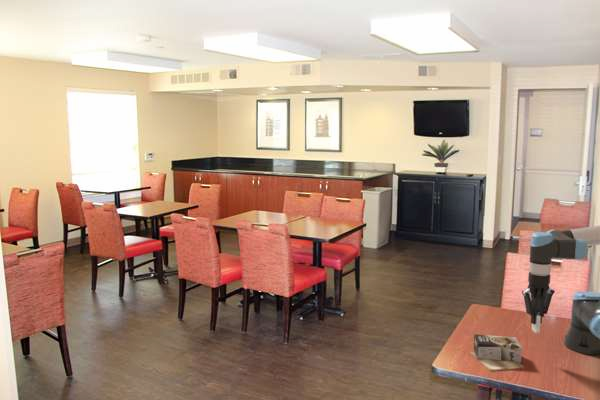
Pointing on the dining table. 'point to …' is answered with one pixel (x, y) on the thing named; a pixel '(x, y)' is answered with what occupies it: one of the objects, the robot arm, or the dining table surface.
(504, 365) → the beige board
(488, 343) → the coffee box
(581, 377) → the dining table surface
